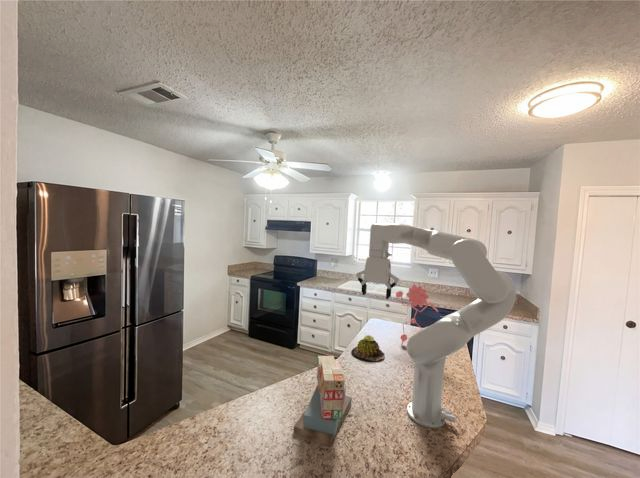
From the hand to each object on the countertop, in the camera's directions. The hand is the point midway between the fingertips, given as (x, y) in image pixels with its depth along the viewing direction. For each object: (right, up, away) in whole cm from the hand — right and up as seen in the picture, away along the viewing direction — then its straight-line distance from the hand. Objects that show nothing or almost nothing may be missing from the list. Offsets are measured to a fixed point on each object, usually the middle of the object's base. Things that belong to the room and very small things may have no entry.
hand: (375, 296), depth 107 cm
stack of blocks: (-20, -31, -17) cm, 40 cm away
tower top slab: (-20, -35, -17) cm, 44 cm away
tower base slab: (-21, -39, -17) cm, 48 cm away
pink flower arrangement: (+32, -38, +45) cm, 67 cm away
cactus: (+2, -38, +32) cm, 49 cm away
